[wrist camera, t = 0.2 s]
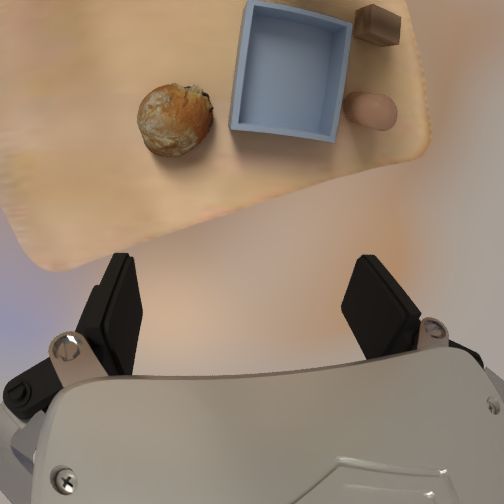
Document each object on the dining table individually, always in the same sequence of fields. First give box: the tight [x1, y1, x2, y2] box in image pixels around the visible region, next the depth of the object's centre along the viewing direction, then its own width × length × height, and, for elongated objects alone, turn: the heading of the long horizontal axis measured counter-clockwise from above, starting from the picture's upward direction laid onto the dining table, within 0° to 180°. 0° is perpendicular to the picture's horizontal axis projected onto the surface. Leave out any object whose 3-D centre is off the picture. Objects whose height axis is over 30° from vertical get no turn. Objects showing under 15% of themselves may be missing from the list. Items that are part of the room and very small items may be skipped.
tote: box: [228, 0, 353, 143], centre depth 31 cm, size 18×14×5 cm
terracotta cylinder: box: [343, 92, 397, 131], centre depth 34 cm, size 5×5×7 cm
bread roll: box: [137, 83, 213, 157], centre depth 33 cm, size 10×10×8 cm
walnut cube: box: [353, 4, 401, 47], centre depth 27 cm, size 5×5×5 cm
